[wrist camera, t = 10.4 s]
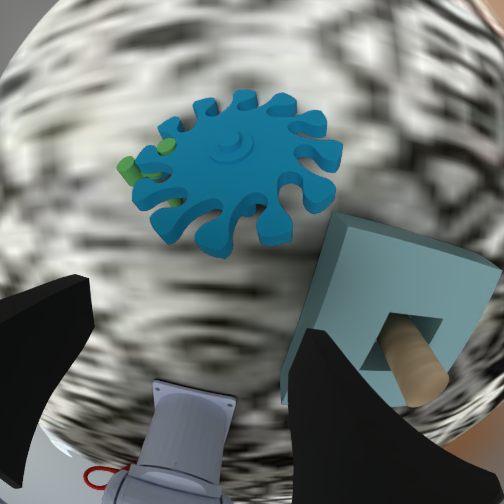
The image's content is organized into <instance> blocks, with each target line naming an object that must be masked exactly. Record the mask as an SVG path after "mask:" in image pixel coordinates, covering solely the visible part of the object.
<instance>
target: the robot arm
mask: <svg viewBox="0 0 504 504" xmlns="http://www.w3.org/2000/svg"><path fill="white" fill-rule="evenodd" d="M94 327H95V325H94V318H93V311H92V302H91V293H90V283H89V278H87V277H83V276H80V275H77V274H74V275H69V276H66V277H62V278H59V279H56V280H54V281H51V282H48V283H45V284H43V285H40V286H37V287H34V288H32V289H29V290H26V291H24V292H21V293H18V294H15V295H12V296H9V297H7V298H4V299H1V300H0V479H2V480H3V481H4V482H6V483H7V484H8V485H10V486H11V487H13V488H15V489H18V488H22V482H23V475H24V470H25V464H26V459H27V455H28V451H29V448H30V444H31V441H32V438H33V435H34V432H35V430H36V427H37V424H38V422H39V419H40V417H41V415H42V413H43V410H44V408H45V406H46V404H47V402H48V400H49V398H50V397H51V395H52V393H53V391H54V390H55V388H56V387H57V385H58V384H59V383H60V381H61V380H62V378H63V377H64V375H65V374H66V372H67V371H68V369H69V368H70V367H71V365H72V364H73V362H74V361H75V359H76V358H77V357H78V355H79V354H80V352H81V351H82V349H83V348H84V346H85V344H86V342H87V340H88V339H89V337H90V335H91V333H92V331H93V329H94ZM153 395H154V404H155V413H154V416H153V418H152V421H151V424H150V427H149V430H148V432H147V435H146V438H145V441H144V444H143V447H142V450H141V453H140V456H139V459H138V462H137V465H135V464H131V467H130V470H129V471H126V470H121V471H119V472H117V473H115V474H114V475H113V476H112V477H111V479H110V480H109V482H108V484H107V486H106V488H105V491H104V495H103V498H102V504H233V502H232V501H231V500H230V499H229V497H228V496H225V495H221V490H222V487H221V486H218V485H219V478H220V470H221V463H222V455H223V448H224V443H225V441H226V437H227V434H228V430H229V427H230V423H231V419H232V416H233V412H234V409H235V405H236V399H235V398H234V397H231V396H225V395H219V394H214V393H209V392H204V391H200V390H195V389H191V388H186V387H182V386H178V385H174V384H170V383H166V382H163V381H159V380H155V381H154V382H153ZM288 410H289V420H290V430H291V440H292V450H293V465H294V473H293V495H292V504H499V503H501V502H502V501H503V499H504V494H503V491H502V488H501V485H500V483H499V480H498V478H497V476H496V474H495V473H492V472H489V471H487V470H484V469H482V468H479V467H477V466H475V465H472V464H470V463H467V462H466V461H464V460H462V459H460V458H458V457H456V456H455V455H453V454H451V453H449V452H447V451H445V450H444V449H443V448H441V447H440V446H438V445H436V444H435V443H434V442H432V441H431V440H429V439H428V438H427V437H425V436H424V435H423V434H421V433H420V432H418V431H417V430H416V429H415V428H413V427H412V426H411V425H410V424H409V423H407V422H406V421H405V420H404V419H403V418H402V417H401V416H400V415H399V414H397V413H396V412H395V411H394V410H393V409H392V408H391V407H390V406H389V405H388V404H387V403H386V402H385V401H384V400H383V399H382V398H381V397H380V396H379V395H378V394H377V392H376V391H375V390H374V389H373V388H372V387H371V386H370V385H369V384H368V383H367V381H366V380H365V379H364V378H363V377H362V376H361V374H360V373H359V372H358V371H357V370H356V368H355V367H354V366H353V365H352V363H351V362H350V361H349V360H348V358H347V357H346V356H345V355H344V353H343V352H342V351H341V350H340V348H339V347H338V346H337V344H336V343H335V342H334V341H333V339H332V338H331V337H330V336H329V335H328V333H327V332H326V331H325V330H318V329H311V328H306V331H305V333H304V336H303V338H302V341H301V343H300V346H299V348H298V351H297V353H296V356H295V358H294V360H293V363H292V365H291V368H290V370H289V372H288ZM0 504H7V503H6V502H4V501H3V500H2V499H1V498H0Z"/></svg>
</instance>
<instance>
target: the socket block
mask: <svg viewBox="0 0 504 504" xmlns="http://www.w3.org/2000/svg"><path fill="white" fill-rule="evenodd" d="M501 273H502V270H501V269H499V268H498V267H496V266H495V265H494V264H492V263H491V262H489V261H488V260H486V259H485V258H483V257H482V256H481V255H479V254H478V253H475V252H472V251H469V250H466V249H463V248H460V247H457V246H454V245H451V244H448V243H445V242H442V241H439V240H436V239H433V238H429V237H426V236H423V235H420V234H416V233H413V232H410V231H406V230H403V229H399V228H396V227H392V226H389V225H385V224H382V223H378V222H374V221H371V220H367V219H363V218H359V217H355V216H351V215H348V214H344V213H340V212H335V211H332V214H331V218H330V222H329V225H328V229H327V232H326V236H325V239H324V243H323V246H322V250H321V253H320V257H319V260H318V263H317V267H316V270H315V273H314V276H313V280H312V283H311V286H310V289H309V292H308V295H307V298H306V301H305V304H304V307H303V310H302V313H301V316H300V319H299V322H298V325H297V328H296V331H295V333H294V336H293V339H292V342H291V345H290V347H289V350H288V353H287V355H286V358H285V361H284V363H283V366H282V369H281V371H280V388H281V404H282V405H288V372H289V370H290V368H291V365H292V363H293V360H294V358H295V356H296V353H297V351H298V348H299V346H300V343H301V341H302V338H303V336H304V333H305V331H306V328H311V329H318V330H325V331H326V332H327V333H328V335H329V336H330V337H331V338H332V339H333V341H334V342H335V343H336V344H337V346H338V347H339V348H340V350H341V351H342V352H343V353H344V355H345V356H346V357H347V358H348V360H349V361H350V362H351V363H352V365H353V366H354V367H355V368H356V370H357V371H358V372H359V373H360V374H361V376H362V377H363V378H364V379H365V380H366V381H367V383H368V384H369V385H370V386H371V387H372V388H373V389H374V390H375V391H376V392H377V394H378V395H379V396H380V397H381V398H382V399H383V400H384V401H385V402H386V403H387V404H388V405H389V406H390V407H396V406H407V404H406V402H405V400H404V398H403V395H402V393H401V391H400V388H399V386H398V384H397V382H396V379H395V377H394V375H393V373H392V371H391V369H390V366H389V364H388V362H387V360H386V358H385V356H384V354H383V352H382V350H381V348H380V346H379V343H375V340H376V339H377V337H378V335H379V333H380V331H381V329H382V327H383V325H384V323H385V321H386V318H387V316H388V314H389V312H393V313H400V314H408V315H413V316H412V318H411V320H412V322H413V323H414V324H415V326H416V327H417V329H418V330H419V332H420V333H421V335H422V336H423V337H424V339H425V340H426V342H427V343H428V345H429V346H430V348H431V349H432V351H433V352H434V354H435V355H436V357H437V359H438V360H439V362H440V363H441V365H442V366H443V368H444V370H445V371H446V373H447V372H448V370H449V369H450V368H451V366H452V365H453V363H454V362H455V360H456V359H457V357H458V356H459V354H460V352H461V351H462V349H463V348H464V346H465V344H466V343H467V341H468V339H469V338H470V336H471V334H472V332H473V331H474V329H475V327H476V325H477V323H478V322H479V320H480V318H481V316H482V314H483V312H484V310H485V308H486V306H487V304H488V302H489V300H490V298H491V296H492V294H493V291H494V289H495V287H496V285H497V282H498V280H499V278H500V275H501Z"/></svg>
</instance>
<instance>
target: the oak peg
mask: <svg viewBox="0 0 504 504" xmlns="http://www.w3.org/2000/svg"><path fill="white" fill-rule="evenodd" d="M377 341H378V343H379V346H380V348H381V350H382V352H383V354H384V356H385V358H386V360H387V362H388V364H389V366H390V369H391V371H392V373H393V375H394V377H395V379H396V382H397V384H398V386H399V388H400V391H401V393H402V395H403V398H404V400H405V402H406V404H407V406H409V407H418V406H422V405H424V404H427V403H428V402H430V401H432V400H433V399H435V398H436V397H437V396H438V395H439V394H441V392H442V391H443V390H444V389H445V388H446V386H447V384H448V381H449V376H448V374H447V373H446V371H445V370H444V368H443V366H442V365H441V363H440V362H439V360H438V359H437V357H436V355H435V354H434V352H433V351H432V349H431V348H430V346H429V345H428V343H427V342H426V340H425V339H424V337H423V336H422V335H421V333H420V332H419V330H418V329H417V327H416V326H415V324H414V323H413V322H412V320H411V319H410V317H409V316H408V315H407V314H400V313H393V312H389V314H388V316H387V318H386V321H385V323H384V325H383V327H382V329H381V331H380V333H379V335H378V337H377Z"/></svg>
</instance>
